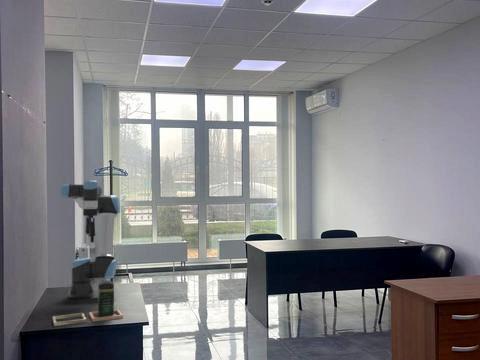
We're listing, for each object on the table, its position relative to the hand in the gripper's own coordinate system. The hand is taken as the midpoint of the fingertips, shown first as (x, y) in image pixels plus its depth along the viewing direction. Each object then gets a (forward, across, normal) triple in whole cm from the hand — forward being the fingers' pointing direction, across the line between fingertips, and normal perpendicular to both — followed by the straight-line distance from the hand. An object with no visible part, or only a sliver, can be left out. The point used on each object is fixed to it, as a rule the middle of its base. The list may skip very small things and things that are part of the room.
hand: (90, 247), depth 254 cm
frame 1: (+35, +17, -12) cm, 40 cm away
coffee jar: (+35, +17, +6) cm, 39 cm away
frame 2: (+35, +17, +6) cm, 39 cm away
